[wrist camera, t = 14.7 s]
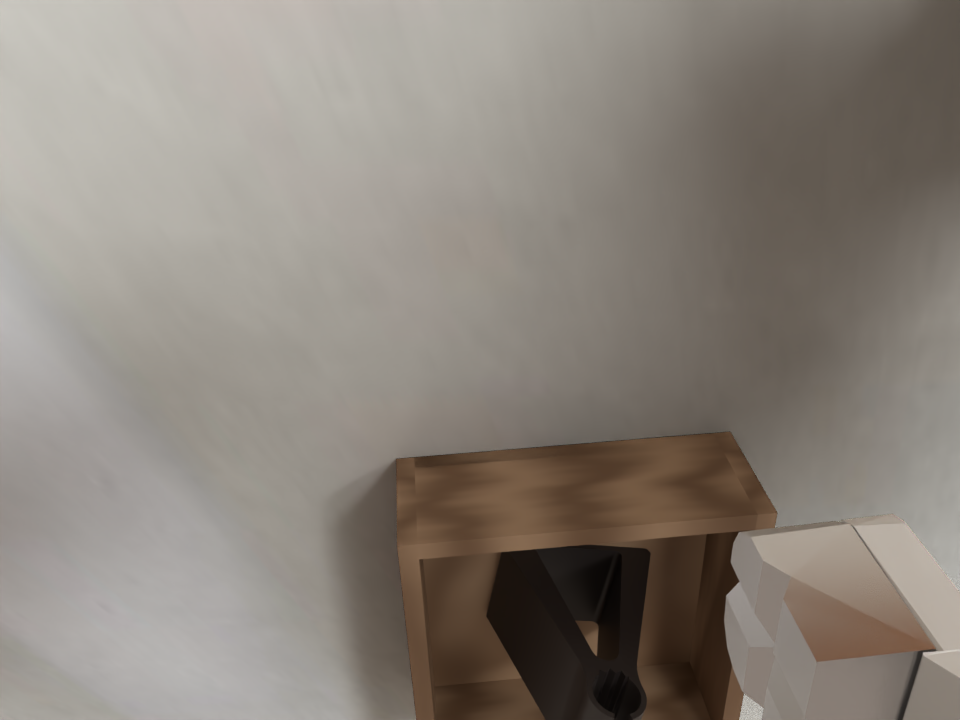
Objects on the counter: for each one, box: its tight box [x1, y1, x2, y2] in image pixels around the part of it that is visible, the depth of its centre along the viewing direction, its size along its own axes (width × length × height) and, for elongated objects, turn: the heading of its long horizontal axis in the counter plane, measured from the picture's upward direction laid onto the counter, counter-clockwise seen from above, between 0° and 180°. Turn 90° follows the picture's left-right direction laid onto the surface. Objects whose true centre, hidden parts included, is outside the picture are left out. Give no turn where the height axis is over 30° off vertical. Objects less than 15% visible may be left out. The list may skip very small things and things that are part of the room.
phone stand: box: [486, 545, 651, 720], centre depth 48 cm, size 9×6×12 cm, turn 80°
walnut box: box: [396, 432, 777, 720], centre depth 51 cm, size 19×19×7 cm
